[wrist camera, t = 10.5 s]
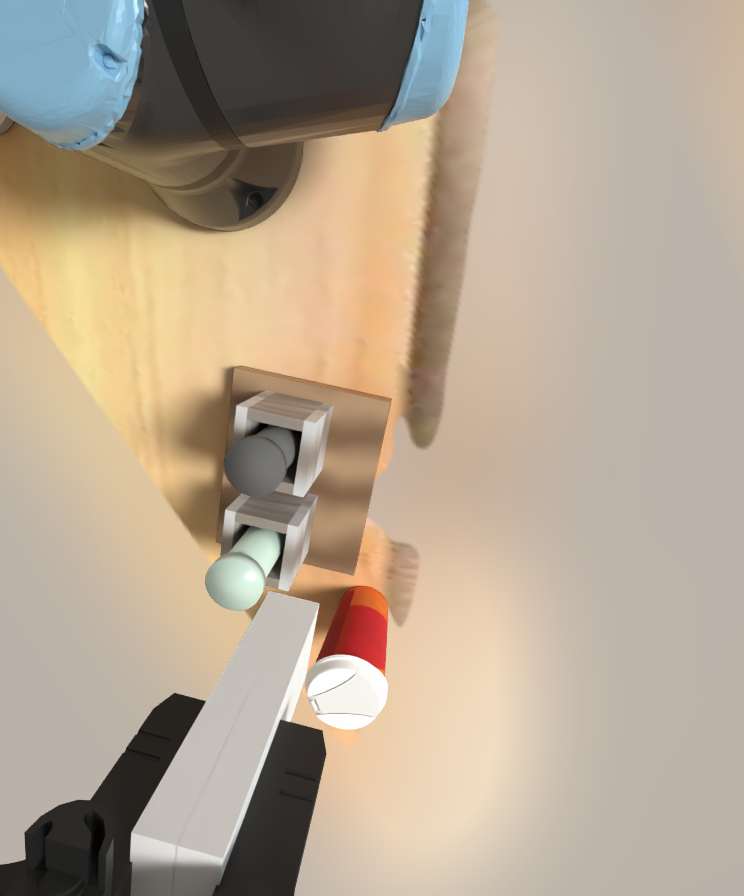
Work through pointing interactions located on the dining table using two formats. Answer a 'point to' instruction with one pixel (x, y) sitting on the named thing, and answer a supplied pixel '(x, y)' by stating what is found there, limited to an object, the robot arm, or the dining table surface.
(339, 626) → the paper cup
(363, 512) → the socket board
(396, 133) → the dining table surface
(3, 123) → the travel mug
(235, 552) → the sage plug
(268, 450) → the gray plug
